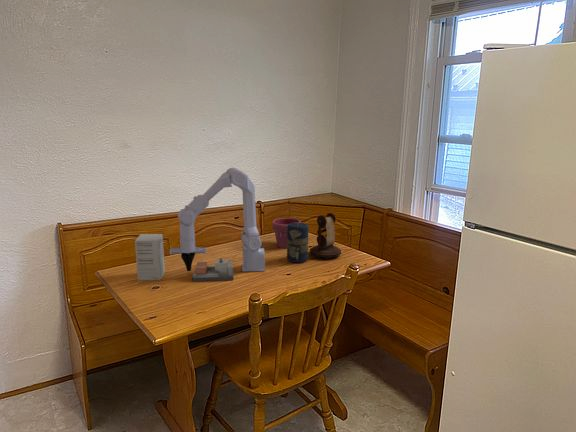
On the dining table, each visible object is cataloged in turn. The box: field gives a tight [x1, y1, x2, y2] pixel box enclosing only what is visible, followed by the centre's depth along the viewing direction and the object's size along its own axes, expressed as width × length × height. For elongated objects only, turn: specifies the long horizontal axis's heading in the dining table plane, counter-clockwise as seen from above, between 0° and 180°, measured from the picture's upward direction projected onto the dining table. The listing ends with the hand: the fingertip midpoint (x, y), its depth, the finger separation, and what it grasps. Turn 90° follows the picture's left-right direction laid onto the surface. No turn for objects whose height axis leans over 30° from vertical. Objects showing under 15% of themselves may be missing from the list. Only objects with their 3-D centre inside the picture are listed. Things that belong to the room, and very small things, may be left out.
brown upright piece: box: [309, 212, 342, 261], centre depth 209 cm, size 15×15×20 cm
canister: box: [286, 222, 309, 263], centre depth 202 cm, size 10×10×18 cm
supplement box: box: [134, 233, 166, 281], centre depth 182 cm, size 10×9×17 cm
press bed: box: [192, 259, 235, 282], centre depth 184 cm, size 16×10×6 cm, turn 95°
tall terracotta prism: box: [194, 261, 208, 274], centre depth 183 cm, size 4×7×4 cm, turn 5°
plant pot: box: [271, 217, 302, 249], centre depth 224 cm, size 14×14×13 cm
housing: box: [214, 257, 229, 275], centre depth 184 cm, size 5×4×6 cm
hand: (189, 270), depth 183 cm, fingers closed
